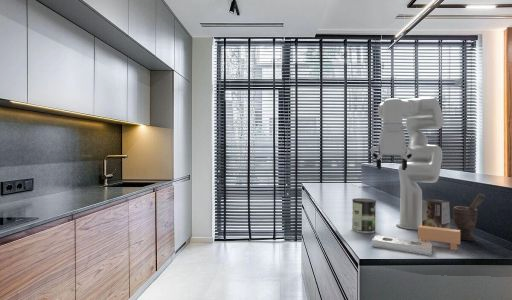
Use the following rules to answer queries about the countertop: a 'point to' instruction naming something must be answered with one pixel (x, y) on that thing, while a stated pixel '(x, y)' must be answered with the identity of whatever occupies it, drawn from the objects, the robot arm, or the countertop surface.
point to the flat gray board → (402, 245)
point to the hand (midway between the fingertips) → (391, 169)
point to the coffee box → (436, 213)
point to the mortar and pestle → (467, 218)
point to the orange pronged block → (439, 235)
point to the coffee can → (363, 215)
